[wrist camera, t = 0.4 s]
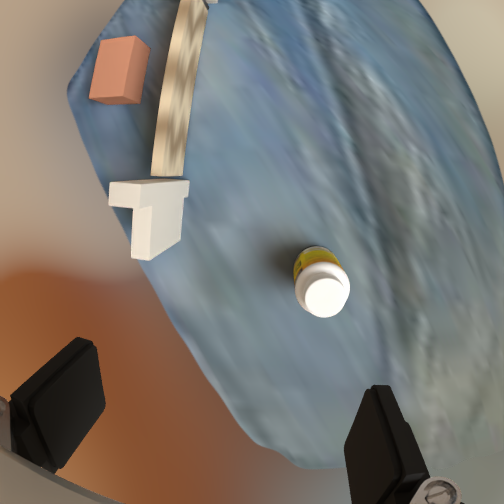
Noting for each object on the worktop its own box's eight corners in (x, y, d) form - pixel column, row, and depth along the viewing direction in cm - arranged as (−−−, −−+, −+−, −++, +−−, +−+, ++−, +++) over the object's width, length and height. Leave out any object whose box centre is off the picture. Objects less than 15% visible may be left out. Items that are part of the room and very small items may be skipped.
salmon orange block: (118, 51, 35) (101, 40, 30) (150, 48, 34) (135, 35, 30) (108, 104, 37) (88, 98, 32) (140, 103, 36) (122, 96, 31)
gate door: (200, 4, 32) (186, -22, 25) (209, 4, 32) (196, -22, 25) (173, 175, 38) (150, 175, 31) (182, 175, 38) (161, 176, 31)
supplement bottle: (292, 245, 39) (295, 270, 29) (338, 244, 38) (356, 268, 28) (293, 289, 40) (295, 326, 30) (337, 288, 39) (353, 324, 29)
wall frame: (205, -37, 30) (178, -96, 17) (226, -38, 30) (205, -99, 17) (161, 237, 40) (107, 267, 26) (184, 240, 40) (136, 273, 26)
